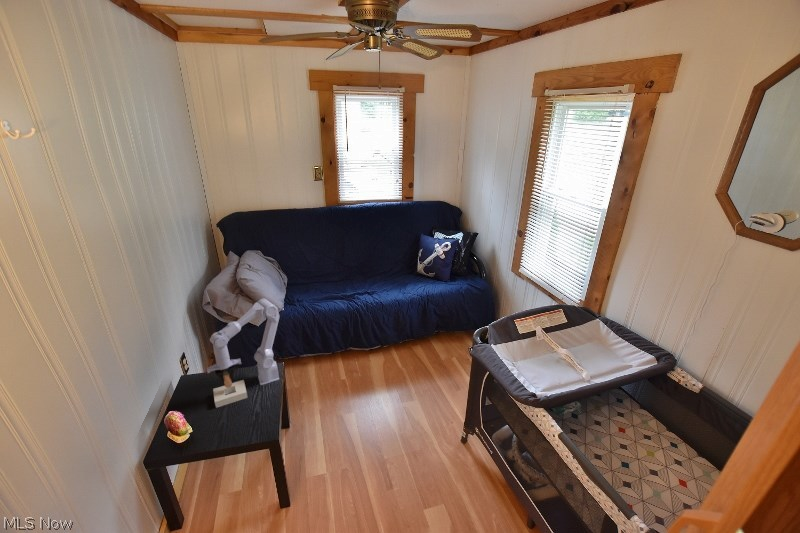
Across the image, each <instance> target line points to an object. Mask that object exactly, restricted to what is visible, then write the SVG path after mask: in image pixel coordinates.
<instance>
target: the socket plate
mask: <svg viewBox="0 0 800 533" xmlns="http://www.w3.org/2000/svg"><path fill="white" fill-rule="evenodd" d="M212 389H213V390H212V392H213V399H214V405H215V408H216V409H217V408H219V407H224V406H225V405H226V406H227V405H230V404H233V403H236V402H239V401H241V400H245V399H247V398H248V392H247V388H246V384H245V380H244V379H242V380H238V381H234V382H232V386H231V387H228V388H226V387H225V385H222V386H219V387H215V388H212Z"/></svg>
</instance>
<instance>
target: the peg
mask: <svg viewBox="0 0 800 533" xmlns="http://www.w3.org/2000/svg"><path fill="white" fill-rule="evenodd" d="M221 372H222V375H223V379H224V382H223V383H224V386H225V387H226V388H228V387H231V386H232V383H233V382H232V380H231V376H230V370H229V367H228V368H226V369H222V370H221Z"/></svg>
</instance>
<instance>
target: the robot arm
mask: <svg viewBox="0 0 800 533" xmlns="http://www.w3.org/2000/svg"><path fill="white" fill-rule="evenodd" d="M264 317H266V318H267V320H266V323H265V327H264V332H263V336H262V340H261V345H260V347H258V348H257V350H256V352H255V354H254V355H253V360H255V361H256V362H257V364H256V367H257V371H258V375H257V379H258V382H259V384H260V386H264V385H266V384H269V383H272V382H276V381H279V380H280V376H279V369H278V365H277V361H276V360H274V351H273V344H274V341H275V338H276V337H275V336H276V333H277V330H278V324H279V320H280V317H281V316H280V313H279V308H278V307H277V306H276V305H275V304H273V303H272V302H270V301H269V299H267V298H260V299H259V300H257V302H255V303H254V304H253V306H252V307H251V308H250V309H249V310H247V312H245V313H244V314H243V315H242V316H241V317H240V318H238V319H237V321H231V322H229V323H227V325H226V326H225V327H223V328H222V329H220V330H219V331H217V332H213V334H212V335H210V338H209V342H210V343H211V344H212V347H213V353H214V357H215V362H216V363H215V364H213V365H210V366H207V367H206V371H207V374H210V373H211V372H215V375H216V376H218V378H219V379H220V380H221V382H222V383H224V379H223V375H222V369H226V368H229V371H230V376H231V381H232V380H233V379H234V378H233V377H234V376H233V375H234V373H235V372H234V371H235V369H236V366H235V365H242V361H241V358H235V359H233V358H231V357H230V353H229V349H228V344H229V343H228V342H229V341H230V340H231V339H232V338H233V337H234V336H236V335H237V334H238V333H239V332H240V331H241V330H242V327H243V326H245V325H247V324H248V323H249V322H251V321H252V320H253V319H255V318H264ZM230 358H231V359H230Z"/></svg>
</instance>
